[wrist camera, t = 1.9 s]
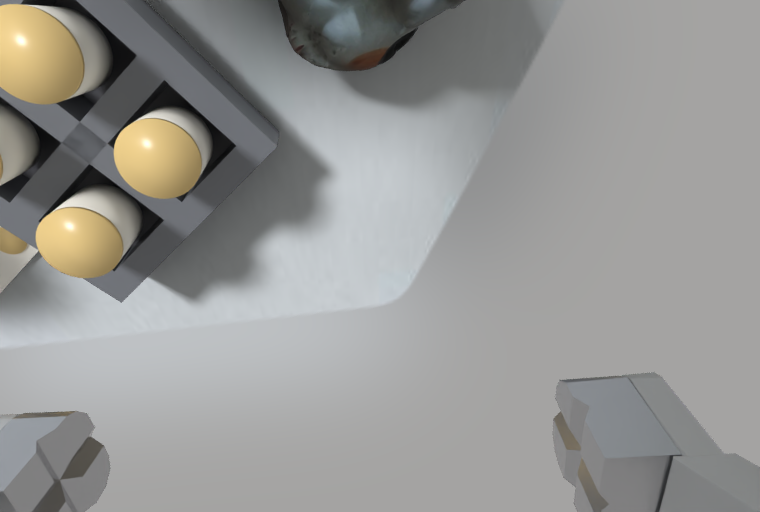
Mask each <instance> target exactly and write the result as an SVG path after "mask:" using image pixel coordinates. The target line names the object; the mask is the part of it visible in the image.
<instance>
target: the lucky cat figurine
mask: <svg viewBox="0 0 760 512" xmlns="http://www.w3.org/2000/svg"><path fill="white" fill-rule="evenodd" d="M463 1H465V0H278V3H279V6H280V10H281V13H282V16H283V21H284V26H285V30H286V35H287V37H288V39H289V42H290V44H291V46H292V48H293V49H294V51H295V52H296V53H297V54H299V55H300V56H301V57H302V58H303V59H305V60H307V61H309V62H310V63H312V64H314V65H316V66H319V67H324V68H328V69H333V70H339V71H358V70H359V71H360V70H367V69H371V68H373V67H375V66H377V65H379V64H382V63H384V62H386V61H387V60H389V59H390V58H392V57H393V56H394V54H395V52H396V51H398V50H399V49H400V48H401V47H403V46H404V45H405V44H406V43H407V42H408V41H409V40H410V39H411V37H412V36H413V35H414V33H415V32H416V30H417V29H418V26H419V25H421V24H423V23H424V22H425V21H427V20H429V19H431V18H433V17H434V16H436V15H438V14H440V13H442V12H443V11H445V10H446V9H449V8H456V7H457V6H458V5H460V4H461V3H462V2H463Z"/></svg>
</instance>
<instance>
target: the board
mask: <svg viewBox="0 0 760 512" xmlns="http://www.w3.org/2000/svg"><path fill="white" fill-rule="evenodd" d="M7 4H22V5H39V6H56V7H66V8H70V9H73V10H76V11H78V12H80V13H82V14H84V15H85V16H87V17H88V18H90V19H91V20H92V21H93V22H95V23H96V24H97V25H98V26H99V28H100V29H101V30H102V31H103V33H104V34H105V36H106V38H107V40H108V42H109V44H110V47H111V50H112V54H113V67H112V71H111V74H110V76H109V78H108V79H107V81H106V82H105V83H104V84H103V85H102V86H100V87H99V88H97V89H95V90H93V91H90V92H87V93H84V94H81V95H78V96H75V97H72V98H69V99H67V100H64V101H61V102H58V103H54V104H34V103H30V102H26V101H23V100H21V99H19V98H16V97H15V96H13V95H11V94H9V93H8V92H6V91H5V90H4V89H2V88H1V87H0V102H1V103H4V104H6V105H8V106H10V107H12V108H14V109H16V110H17V111H19V112H20V113H21V114H22V115H24V116H25V117H26V118H27V119H28V120H29V122H30V123H31V124H32V125H33V127H34V129H35V130H36V132H37V134H38V137H39V140H40V155H39V158H38V160H37V162H36V163H35V165H34V166H33V167H32V168H30V169H29V170H27V171H26V172H24V173H22V174H20V175H18V176H17V177H15V178H13V179H11V180H10V181H8V182H6V183H4V184H2V185H1V186H0V226H1V227H2V228H4V229H6V230H7V231H9V232H10V233H12V234H13V235H15V236H17V237H18V238H20V239H21V240H23V241H25V242H26V243H28V244H29V245H31V246H32V247H34V248H36V249H37V250H38V247H37V244H36V231H37V227H38V225H39V223H40V222H41V221H42V220H43V219H44V218H45V217H46V216H47V215H48V214H50V213H51V212H52V211H53V210H55V209H56V208H57V207H59V206H60V205H61V204H62V203H64V202H65V201H66V200H67V199H69V198H70V197H71V196H73V195H74V194H75V193H76V192H78V191H79V190H80V189H82V188H84V187H86V186H89V185H94V184H105V185H111V186H114V187H117V188H119V189H121V190H123V191H125V192H126V193H128V194H129V195H130V196H131V197H132V198H133V199H134V200H135V201H136V202H137V204H138V205H139V207H140V209H141V211H142V215H143V227H142V230H141V232H140V234H139V235H138V237H137V238H136V239H135V241H134V242H133V243H132V245H131V246H130V248H129V249H128V250H127V252H126V253H125V254H124V256H123V257H122V259H121V260H120V261H119V263H118V264H117V265H116V267H115V268H114V269H113V270H111V271H110V272H109V273H107V274H105V275H102V276H99V277H95V278H83V279H85V280H86V281H88V282H90V283H91V284H93V285H94V286H96V287H97V288H99V289H101V290H102V291H104V292H105V293H107V294H109V295H110V296H112V297H113V298H115V299H116V300H118V301H120V302H121V303H122V302H123V301H124V300H125V299H126V298H127V297H128V296H129V295H130V294H131V293H132V292H133V291H134V290H135V289H136V288H137V287H138V286H139V285H140V284H141V283H142V282H143V281H144V280H145V279H146V278H147V277H148V276H149V275H150V274H151V273H152V272H153V271H154V270H155V269H156V268H157V267H158V266H159V265H160V264H161V263H162V262H163V261H164V260H165V259H166V258H167V257H168V256H169V255H170V254H171V253H172V252H173V251H174V250H175V249H176V248H177V247H178V246H179V245H180V244H181V243H182V242H183V241H184V240H185V239H186V238H187V237H188V236H189V235H190V233H191V232H192V231H193V230H194V229H195V228H196V227H197V226H198V225H199V224H200V223H201V222H202V221H203V220H204V219H205V218H206V217H207V216H208V215H209V214H210V213H211V212H212V211H213V210H214V209H215V208H216V207H217V206H218V205H219V204H220V203H221V202H222V201H223V200H224V199H225V198H226V197H227V196H228V195H229V194H230V193H231V192H232V191H233V190H234V189H235V188H236V187H237V186H238V185H239V184H240V183H241V182H242V181H243V180H244V179H245V178H246V177H247V176H248V175H249V174H250V173H251V172H252V171H253V170H254V169H255V168H256V167H257V166H258V165H259V164H260V163H261V162H262V161H263V160H264V159H265V158H266V157H267V156H268V155H269V154H270V153H271V152H272V151H273V150H274V149H275V148H276V147H277V145H278V137H279V131H278V130H277V129H276V128H275V127H274V126H273V125H272V124H271V123H270V122H269V121H268V120H266V119H265V118H264V117H263V116H262V115H261V114H260V113H259V112H258V111H257V110H256V109H255V108H254V107H253V106H252V105H251V104H250V103H249V102H248V101H247V100H246V99H245V98H244V97H243V96H242V95H241V94H240V93H239V92H238V91H237V90H236V89H235V88H234V87H233V86H232V85H231V84H230V83H229V82H227V81H226V80H225V79H224V78H223V77H222V76H221V75H220V74H219V73H218V72H217V71H216V70H215V69H214V68H213V67H212V66H211V65H210V64H209V63H208V62H207V61H206V60H205V59H204V58H203V57H202V56H201V55H200V54H199V53H198V52H197V51H196V50H195V49H194V48H193V47H192V46H191V45H189V44H188V43H187V42H186V41H185V40H184V39H183V38H182V37H181V36H180V35H179V34H178V33H177V32H176V31H175V30H174V29H173V28H172V27H171V26H170V25H169V24H168V23H167V22H166V21H165V20H164V19H163V18H162V17H161V16H160V15H159V14H158V13H157V12H156V11H155V10H154V9H153V8H152V7H150V6H149V5H148V4H147V3H146V2H145V1H144V0H0V6H2V5H7ZM161 106H179V107H183V108H185V109H188V110H190V111H192V112H193V113H195V114H196V115H197V116H199V117H200V118H201V119H202V120H203V121H204V123H205V124H206V125H207V127H208V128H209V130H210V133H211V136H212V139H213V152H212V156H211V158H210V160H209V162H208V164H207V165H206V167H205V169H204V170H203V172H202V174H201V175H200V177H199V179H198V180H197V182H196V184H195V185H194V186H193V187H192V188H191V189H190V190H189V191H188V192H186V193H185V194H183V195H181V196H178V197H175V198H170V199H159V198H153V197H150V196H147V195H144V194H142V193H140V192H138V191H137V190H135V189H134V188H132V187H131V186H130V185H129V184H128V183H127V182H126V181H125V180H124V179H123V177H122V176H121V175H120V173H119V171H118V169H117V167H116V164H115V160H114V145H115V142H116V139H117V137H118V135H119V134H120V133H121V131H122V130H123V129H124V128H125V127H127V126H128V125H130V124H131V123H133V122H134V121H136V120H138V119H139V118H141V117H142V116H144V115H146V114H147V113H149V112H150V111H152V110H154V109H156V108H158V107H161Z"/></svg>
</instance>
